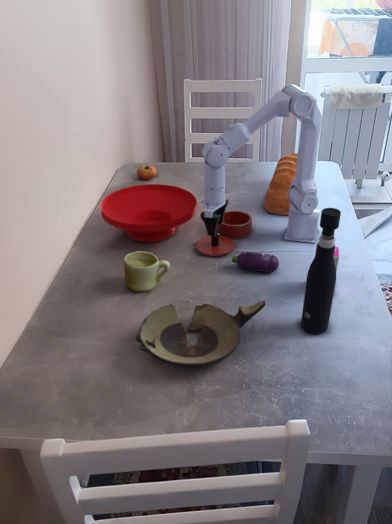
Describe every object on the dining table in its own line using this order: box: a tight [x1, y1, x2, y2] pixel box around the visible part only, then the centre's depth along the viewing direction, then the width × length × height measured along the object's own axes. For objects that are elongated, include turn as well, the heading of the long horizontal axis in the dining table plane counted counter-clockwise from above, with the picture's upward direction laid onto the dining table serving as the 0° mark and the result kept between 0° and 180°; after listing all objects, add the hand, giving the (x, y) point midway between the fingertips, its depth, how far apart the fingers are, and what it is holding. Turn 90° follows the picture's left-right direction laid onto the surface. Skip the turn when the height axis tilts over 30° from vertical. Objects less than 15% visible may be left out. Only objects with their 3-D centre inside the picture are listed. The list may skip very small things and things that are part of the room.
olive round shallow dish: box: [134, 300, 267, 368], centre depth 110 cm, size 22×30×8 cm
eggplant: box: [231, 250, 280, 273], centre depth 136 cm, size 13×5×5 cm, turn 73°
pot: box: [216, 210, 253, 240], centre depth 156 cm, size 11×11×4 cm
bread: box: [263, 152, 298, 216], centre depth 172 cm, size 16×31×13 cm, turn 165°
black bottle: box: [300, 207, 342, 336], centre depth 107 cm, size 6×6×30 cm
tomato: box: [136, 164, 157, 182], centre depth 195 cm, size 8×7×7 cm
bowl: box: [100, 183, 198, 243], centre depth 156 cm, size 30×30×10 cm
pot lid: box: [195, 232, 236, 257], centre depth 147 cm, size 12×12×4 cm
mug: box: [123, 250, 171, 292], centre depth 131 cm, size 12×10×10 cm
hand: (215, 229), depth 145 cm, fingers open, 7 cm apart
